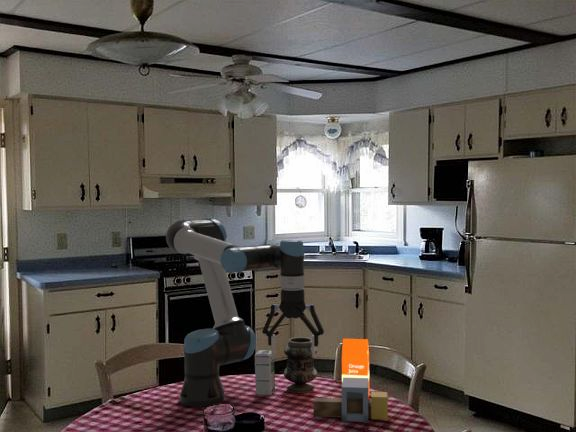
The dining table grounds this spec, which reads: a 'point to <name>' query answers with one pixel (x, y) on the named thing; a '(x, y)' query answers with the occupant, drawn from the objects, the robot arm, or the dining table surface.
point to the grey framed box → (355, 390)
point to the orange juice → (355, 359)
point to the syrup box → (264, 372)
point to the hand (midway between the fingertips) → (293, 356)
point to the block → (379, 405)
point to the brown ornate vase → (300, 365)
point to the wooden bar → (338, 407)
